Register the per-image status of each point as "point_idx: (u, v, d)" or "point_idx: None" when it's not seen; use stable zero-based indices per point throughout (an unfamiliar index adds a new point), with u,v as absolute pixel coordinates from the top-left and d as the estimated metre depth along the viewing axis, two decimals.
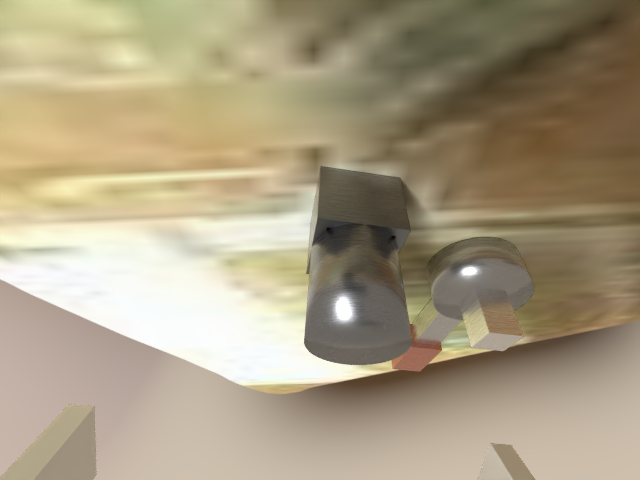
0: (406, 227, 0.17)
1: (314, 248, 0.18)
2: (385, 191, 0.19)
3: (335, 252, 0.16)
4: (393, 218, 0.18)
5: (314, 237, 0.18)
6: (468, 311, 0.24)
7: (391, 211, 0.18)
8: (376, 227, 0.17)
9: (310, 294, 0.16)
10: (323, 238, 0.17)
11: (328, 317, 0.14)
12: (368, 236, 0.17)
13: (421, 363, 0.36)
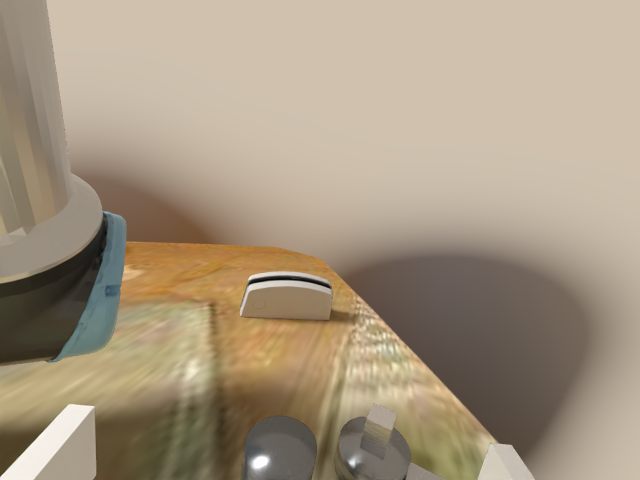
0: None
1: None
2: None
3: None
4: None
5: None
6: (376, 446, 0.31)
7: None
8: None
9: None
10: None
11: (244, 451, 0.22)
12: None
13: None
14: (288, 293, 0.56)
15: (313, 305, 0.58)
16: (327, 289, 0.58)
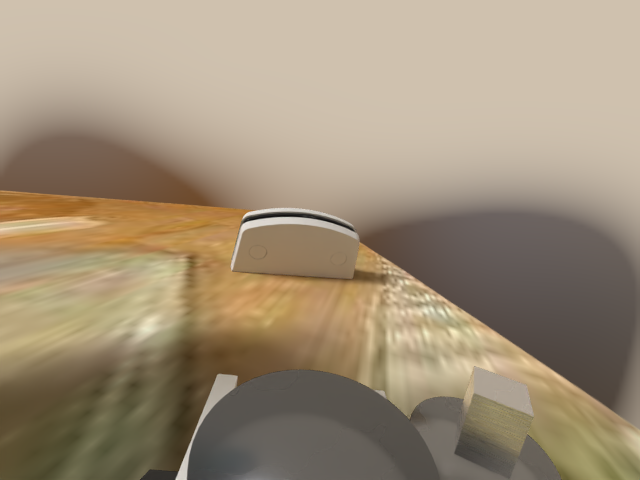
0: None
1: None
2: None
3: None
4: None
5: None
6: (495, 450, 0.15)
7: None
8: None
9: None
10: None
11: None
12: None
13: None
14: (298, 235, 0.40)
15: (332, 255, 0.42)
16: (352, 232, 0.42)
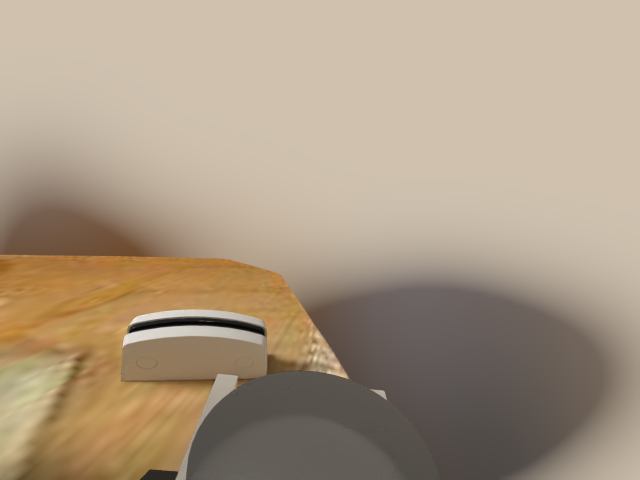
0: None
1: None
2: None
3: None
4: None
5: None
6: None
7: None
8: None
9: None
10: None
11: (186, 478, 0.06)
12: None
13: None
14: (191, 346, 0.35)
15: (236, 360, 0.38)
16: (256, 336, 0.37)
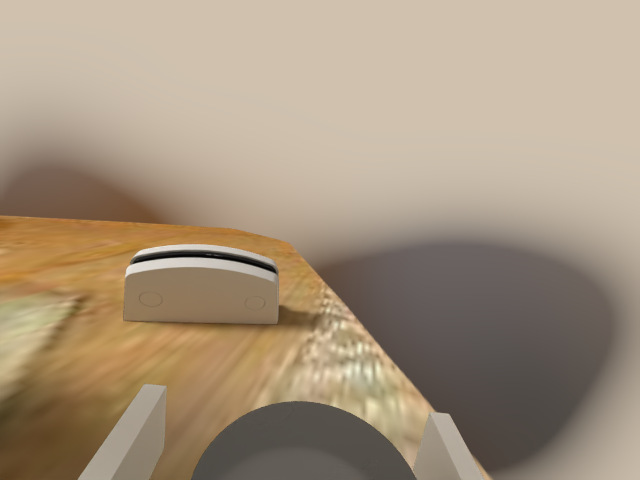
0: None
1: None
2: None
3: None
4: None
5: None
6: None
7: None
8: None
9: None
10: None
11: None
12: None
13: None
14: (198, 279, 0.33)
15: (246, 300, 0.35)
16: (268, 273, 0.35)
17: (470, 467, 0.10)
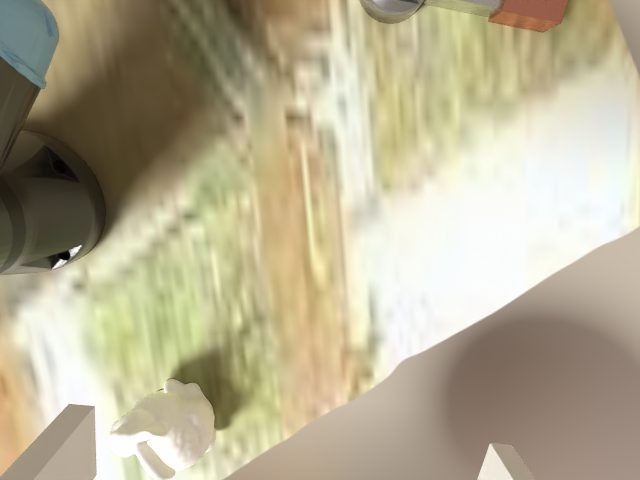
0: None
1: None
2: None
3: None
4: None
5: None
6: None
7: None
8: None
9: None
10: None
11: None
12: None
13: None
14: None
15: None
16: None
17: None
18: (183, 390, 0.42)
